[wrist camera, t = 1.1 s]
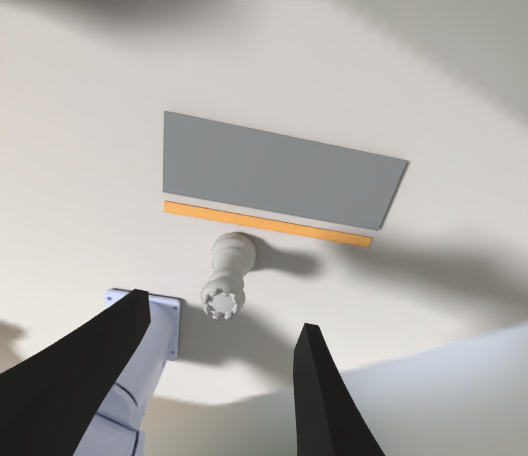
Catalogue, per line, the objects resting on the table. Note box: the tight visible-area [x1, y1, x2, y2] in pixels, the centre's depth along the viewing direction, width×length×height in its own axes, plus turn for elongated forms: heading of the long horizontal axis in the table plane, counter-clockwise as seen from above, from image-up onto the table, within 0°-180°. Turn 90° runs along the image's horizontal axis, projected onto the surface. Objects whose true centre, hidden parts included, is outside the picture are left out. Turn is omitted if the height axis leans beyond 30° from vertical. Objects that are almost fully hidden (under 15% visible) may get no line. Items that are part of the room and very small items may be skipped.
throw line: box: [164, 201, 372, 247], centre depth 22 cm, size 1×20×1 cm, turn 79°
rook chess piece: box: [200, 233, 256, 320], centre depth 19 cm, size 4×4×8 cm
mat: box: [163, 111, 407, 231], centre depth 20 cm, size 6×20×1 cm, turn 79°
